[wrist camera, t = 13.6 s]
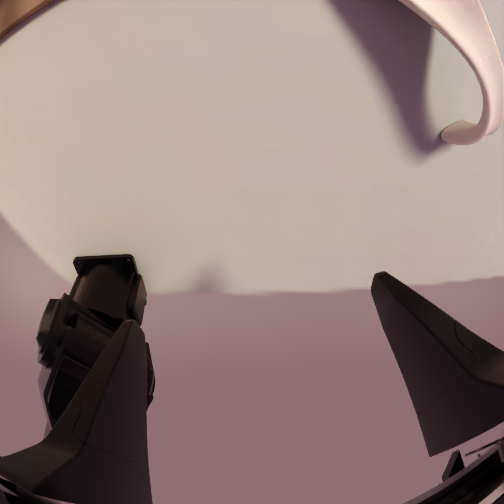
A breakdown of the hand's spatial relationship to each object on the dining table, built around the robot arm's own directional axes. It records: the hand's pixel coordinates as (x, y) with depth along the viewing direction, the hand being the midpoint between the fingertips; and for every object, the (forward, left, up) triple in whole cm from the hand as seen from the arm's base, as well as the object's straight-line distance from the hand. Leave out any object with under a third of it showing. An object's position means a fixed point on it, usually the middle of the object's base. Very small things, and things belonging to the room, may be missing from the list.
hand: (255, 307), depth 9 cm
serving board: (-18, +24, -13) cm, 32 cm away
